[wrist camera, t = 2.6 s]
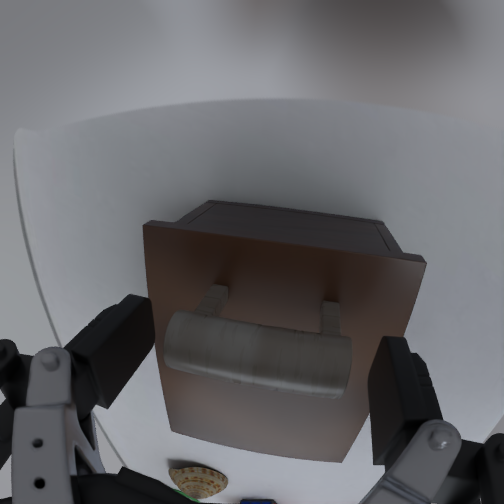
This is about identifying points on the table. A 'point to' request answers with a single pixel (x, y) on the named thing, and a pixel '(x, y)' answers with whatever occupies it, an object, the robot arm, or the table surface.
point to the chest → (293, 224)
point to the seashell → (198, 481)
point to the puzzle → (257, 502)
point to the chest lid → (271, 334)
